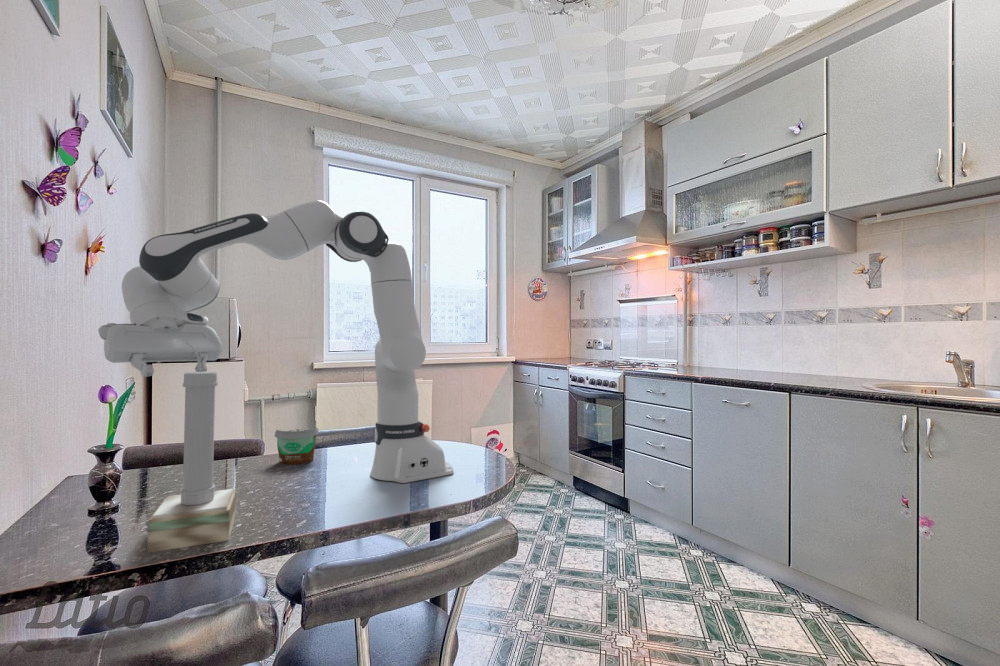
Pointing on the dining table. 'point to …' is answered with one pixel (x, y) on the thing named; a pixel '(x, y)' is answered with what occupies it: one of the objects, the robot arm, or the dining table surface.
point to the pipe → (198, 437)
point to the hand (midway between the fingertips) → (176, 373)
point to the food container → (296, 446)
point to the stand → (192, 522)
